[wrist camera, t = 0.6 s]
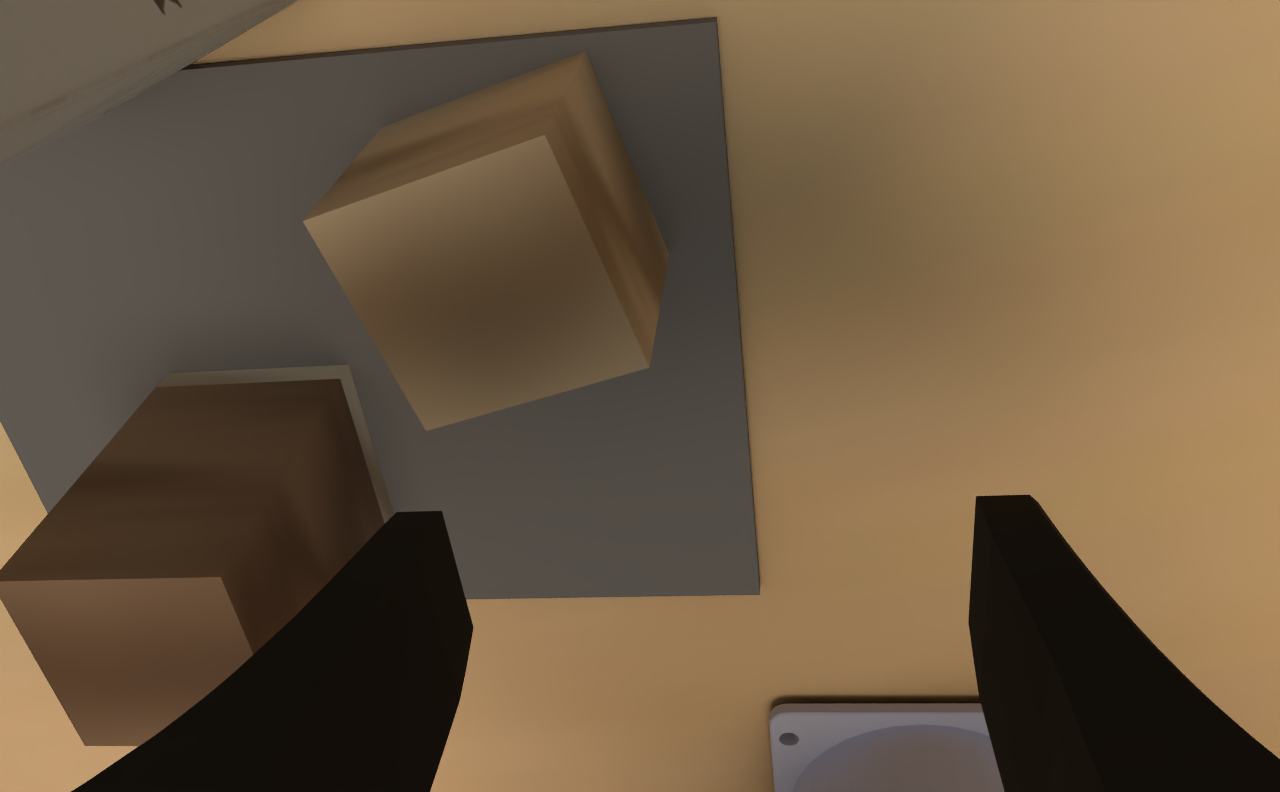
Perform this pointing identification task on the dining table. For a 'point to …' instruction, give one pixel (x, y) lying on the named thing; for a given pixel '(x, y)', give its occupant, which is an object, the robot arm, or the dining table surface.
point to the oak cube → (499, 246)
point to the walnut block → (194, 542)
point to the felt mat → (334, 334)
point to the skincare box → (100, 57)
